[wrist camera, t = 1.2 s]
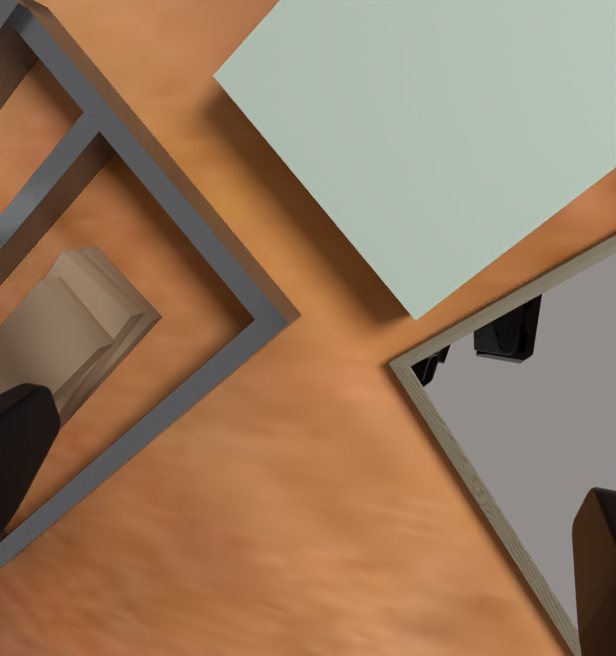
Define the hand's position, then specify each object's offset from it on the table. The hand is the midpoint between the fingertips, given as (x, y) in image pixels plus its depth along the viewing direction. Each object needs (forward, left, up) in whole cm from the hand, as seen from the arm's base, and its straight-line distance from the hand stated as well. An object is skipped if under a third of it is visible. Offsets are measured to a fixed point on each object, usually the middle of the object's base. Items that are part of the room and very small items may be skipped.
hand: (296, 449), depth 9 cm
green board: (+7, +5, -14) cm, 16 cm away
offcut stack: (-15, +8, -14) cm, 22 cm away
